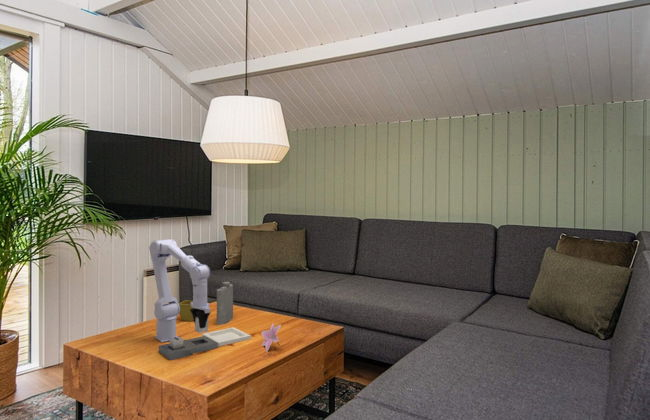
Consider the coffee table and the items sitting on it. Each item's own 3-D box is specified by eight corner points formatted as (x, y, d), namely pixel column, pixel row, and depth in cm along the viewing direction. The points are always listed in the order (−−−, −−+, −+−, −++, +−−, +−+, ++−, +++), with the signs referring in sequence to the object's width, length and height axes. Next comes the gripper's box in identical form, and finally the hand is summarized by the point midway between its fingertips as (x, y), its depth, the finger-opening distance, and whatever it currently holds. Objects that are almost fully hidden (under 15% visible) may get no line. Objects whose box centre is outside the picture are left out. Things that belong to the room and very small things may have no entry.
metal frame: (158, 351, 183) (158, 345, 183) (204, 341, 196) (204, 335, 196) (169, 360, 174) (169, 353, 174) (217, 349, 187) (217, 343, 187)
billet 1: (169, 352, 182) (169, 337, 182) (179, 350, 184) (179, 335, 184) (173, 355, 179) (173, 340, 179) (183, 353, 181) (183, 338, 181)
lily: (262, 344, 196) (254, 327, 193) (287, 333, 197) (279, 316, 193) (265, 362, 186) (256, 345, 182) (291, 350, 186) (282, 333, 182)
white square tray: (202, 338, 200) (202, 333, 200) (233, 331, 210) (233, 327, 210) (218, 347, 188) (218, 342, 188) (250, 339, 198) (250, 335, 198)
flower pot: (185, 317, 234) (185, 300, 234) (201, 317, 233) (201, 300, 233) (177, 321, 225) (177, 304, 225) (194, 322, 224) (194, 304, 224)
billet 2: (194, 330, 189) (195, 316, 189) (203, 329, 191) (204, 314, 191) (199, 332, 186) (199, 318, 185) (208, 331, 188) (208, 316, 188)
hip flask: (228, 316, 235) (228, 279, 234) (235, 317, 234) (235, 279, 234) (215, 325, 219) (215, 285, 219) (223, 326, 219) (223, 285, 218)
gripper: (217, 296, 185) (217, 328, 185) (201, 290, 196) (201, 321, 196) (200, 298, 180) (201, 332, 180) (185, 292, 191) (186, 324, 191)
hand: (200, 326), depth 188 cm, fingers closed on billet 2, 4 cm apart
